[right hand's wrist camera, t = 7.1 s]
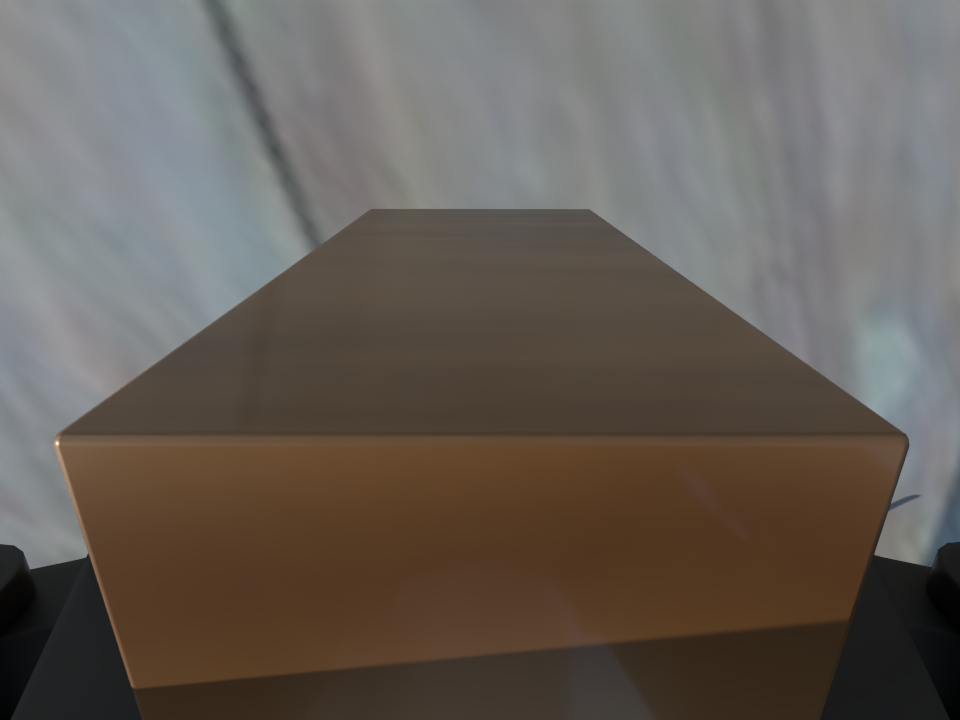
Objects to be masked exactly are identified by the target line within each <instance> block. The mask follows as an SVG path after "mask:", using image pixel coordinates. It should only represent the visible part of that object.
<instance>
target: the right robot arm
mask: <svg viewBox="0 0 960 720" xmlns="http://www.w3.org/2000/svg"><path fill="white" fill-rule="evenodd" d="M0 720H142V718H141V715H140V712H139V709H138V706H137V703H136V700H135V696H134V693H133V690H132V687H131V684H130V681H129V678H128V675H127V671H126V668H125V665H124V662H123V659H122V656H121V653H120V650H119V647H118V643H117V640H116V637H115V634H114V631H113V628H112V625H111V622H110V618H109V615H108V612H107V609H106V606H105V603H104V600H103V597H102V593H101V590H100V587H99V584H98V581H97V578H96V575H95V572H94V568H93V565H92V562H91V559H90V556H89V553H88V555H87V557H86V558H83V559H79V560H74V561H70V562H65V563H60V564H55V565H50V566H45V567H40V568H36V569H31V570H30V569H29V566H28V564H27V561H26V558H25V556H24V553H23V552H22V551H21V550H20V549H18V548H17V547H15V546H13V545H2V544H0ZM820 720H960V542H955V543H947V544H946V545H944V546H943V547H941V548H940V549H938V552H937V554H936V557H935V560H934V562H933V565H932V567H927V566H922V565H918V564H913V563H908V562H903V561H898V560H893V559H888V558H883V557H880V556H876V555H874V556H873V559H872V562H871V565H870V568H869V571H868V574H867V577H866V580H865V583H864V586H863V590H862V593H861V596H860V599H859V602H858V605H857V608H856V611H855V614H854V617H853V620H852V623H851V626H850V629H849V632H848V635H847V639H846V642H845V645H844V648H843V651H842V654H841V657H840V660H839V663H838V666H837V669H836V672H835V675H834V678H833V681H832V684H831V688H830V691H829V694H828V697H827V700H826V703H825V706H824V709H823V712H822V715H821V718H820Z"/></svg>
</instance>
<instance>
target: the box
mask: <svg viewBox="0 0 960 720" xmlns="http://www.w3.org/2000/svg"><path fill="white" fill-rule="evenodd" d="M54 447H55V450H56V453H57V456H58V459H59V462H60V465H61V468H62V472H63V475H64V478H65V481H66V484H67V487H68V490H69V493H70V497H71V500H72V503H73V506H74V509H75V512H76V515H77V518H78V522H79V525H80V528H81V531H82V534H83V537H84V540H85V543H86V547H87V550H88V553H89V556H90V559H91V562H92V565H93V568H94V572H95V575H96V578H97V581H98V584H99V587H100V590H101V593H102V597H103V600H104V603H105V606H106V609H107V612H108V615H109V618H110V622H111V625H112V628H113V631H114V634H115V637H116V640H117V643H118V647H119V650H120V653H121V656H122V659H123V662H124V665H125V668H126V671H127V675H128V678H129V681H130V684H131V687H132V690H133V693H134V696H135V700H136V703H137V706H138V709H139V712H140V715H141V718H142V720H820V718H821V715H822V712H823V709H824V706H825V703H826V700H827V697H828V694H829V691H830V688H831V684H832V681H833V678H834V675H835V672H836V669H837V666H838V663H839V660H840V657H841V654H842V651H843V648H844V645H845V642H846V639H847V635H848V632H849V629H850V626H851V623H852V620H853V617H854V614H855V611H856V608H857V605H858V602H859V599H860V596H861V593H862V590H863V586H864V583H865V580H866V577H867V574H868V571H869V568H870V565H871V562H872V559H873V556H874V553H875V550H876V547H877V544H878V541H879V537H880V534H881V531H882V528H883V525H884V522H885V519H886V516H887V513H888V510H889V507H890V504H891V501H892V498H893V495H894V491H895V488H896V485H897V482H898V479H899V476H900V473H901V470H902V467H903V464H904V461H905V458H906V455H907V452H908V449H909V439H908V437H907V436H906V434H905V433H903V432H902V431H900V430H899V429H898V428H896V427H895V426H893V425H892V424H890V423H889V422H888V421H886V420H885V419H883V418H882V417H881V416H879V415H878V414H876V413H875V412H874V411H872V410H871V409H869V408H868V407H867V406H865V405H864V404H862V403H861V402H860V401H858V400H857V399H855V398H854V397H853V396H851V395H850V394H848V393H847V392H845V391H844V390H843V389H841V388H840V387H838V386H837V385H836V384H834V383H833V382H831V381H830V380H829V379H827V378H826V377H824V376H823V375H822V374H820V373H819V372H817V371H816V370H815V369H813V368H812V367H810V366H809V365H808V364H806V363H805V362H803V361H802V360H800V359H799V358H798V357H796V356H795V355H793V354H792V353H791V352H789V351H788V350H786V349H785V348H784V347H782V346H781V345H779V344H778V343H777V342H775V341H774V340H772V339H771V338H770V337H768V336H767V335H765V334H764V333H763V332H761V331H760V330H758V329H757V328H755V327H754V326H753V325H751V324H750V323H748V322H747V321H746V320H744V319H743V318H741V317H740V316H739V315H737V314H736V313H734V312H733V311H732V310H730V309H729V308H727V307H726V306H725V305H723V304H722V303H720V302H719V301H718V300H716V299H715V298H713V297H712V296H710V295H709V294H708V293H706V292H705V291H703V290H702V289H701V288H699V287H698V286H696V285H695V284H694V283H692V282H691V281H689V280H688V279H687V278H685V277H684V276H682V275H681V274H680V273H678V272H677V271H675V270H674V269H673V268H671V267H670V266H668V265H667V264H665V263H664V262H663V261H661V260H660V259H658V258H657V257H656V256H654V255H653V254H651V253H650V252H649V251H647V250H646V249H644V248H643V247H642V246H640V245H639V244H637V243H636V242H635V241H633V240H632V239H630V238H629V237H627V236H626V235H625V234H623V233H622V232H620V231H619V230H618V229H616V228H615V227H613V226H612V225H611V224H609V223H608V222H606V221H605V220H604V219H602V218H601V217H599V216H598V215H597V214H595V213H594V212H592V211H591V210H589V209H371V210H369V211H368V212H366V213H365V214H364V215H362V216H361V217H359V218H358V219H357V220H355V221H354V222H352V223H351V224H350V225H348V226H347V227H345V228H344V229H343V230H341V231H340V232H338V233H337V234H336V235H334V236H333V237H331V238H330V239H329V240H327V241H326V242H324V243H323V244H322V245H320V246H319V247H317V248H316V249H315V250H313V251H312V252H310V253H309V254H308V255H306V256H305V257H303V258H302V259H301V260H299V261H298V262H296V263H295V264H294V265H292V266H291V267H289V268H288V269H287V270H285V271H284V272H283V273H281V274H280V275H278V276H277V277H276V278H274V279H273V280H271V281H270V282H269V283H267V284H266V285H264V286H263V287H262V288H260V289H259V290H257V291H256V292H255V293H253V294H252V295H250V296H249V297H248V298H246V299H245V300H243V301H242V302H241V303H239V304H238V305H236V306H235V307H234V308H232V309H231V310H229V311H228V312H227V313H225V314H224V315H222V316H221V317H220V318H218V319H217V320H215V321H214V322H213V323H211V324H210V325H208V326H207V327H206V328H204V329H203V330H201V331H200V332H199V333H197V334H196V335H194V336H193V337H192V338H190V339H189V340H187V341H186V342H185V343H183V344H182V345H180V346H179V347H178V348H176V349H175V350H174V351H172V352H171V353H169V354H168V355H167V356H165V357H164V358H162V359H161V360H160V361H158V362H157V363H155V364H154V365H153V366H151V367H150V368H148V369H147V370H146V371H144V372H143V373H141V374H140V375H139V376H137V377H136V378H134V379H133V380H132V381H130V382H129V383H127V384H126V385H125V386H123V387H122V388H120V389H119V390H118V391H116V392H115V393H113V394H112V395H111V396H109V397H108V398H106V399H105V400H104V401H102V402H101V403H99V404H98V405H97V406H95V407H94V408H92V409H91V410H90V411H88V412H87V413H85V414H84V415H83V416H81V417H80V418H78V419H77V420H76V421H74V422H73V423H71V424H70V425H69V426H67V427H66V428H65V429H63V430H62V431H60V432H59V433H58V434H57V435H56V437H55V441H54Z"/></svg>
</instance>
